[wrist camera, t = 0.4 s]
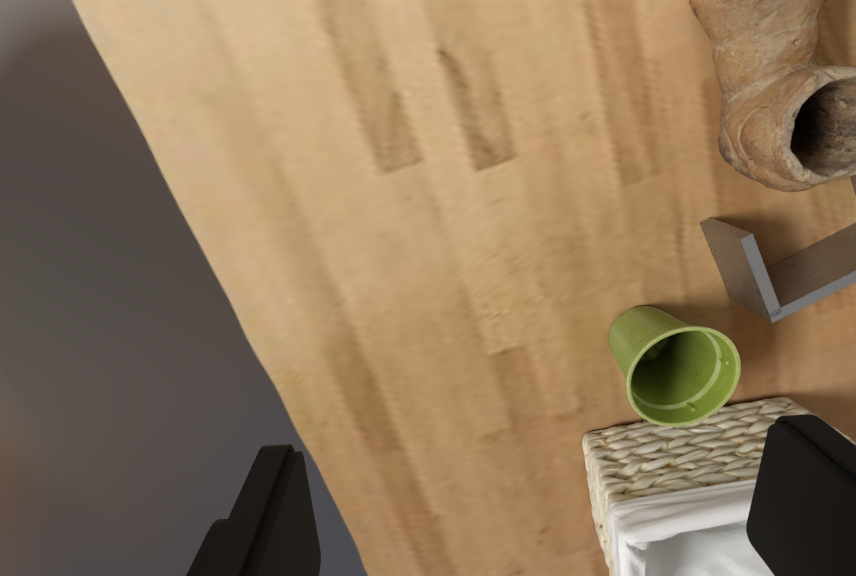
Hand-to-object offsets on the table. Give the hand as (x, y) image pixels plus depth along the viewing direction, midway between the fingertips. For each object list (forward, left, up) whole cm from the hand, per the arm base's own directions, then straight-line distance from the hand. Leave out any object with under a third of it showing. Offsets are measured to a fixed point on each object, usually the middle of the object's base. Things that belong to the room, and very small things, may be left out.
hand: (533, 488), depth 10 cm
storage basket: (+39, +8, -36) cm, 53 cm away
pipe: (+5, +26, -36) cm, 44 cm away
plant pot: (+22, +10, -36) cm, 43 cm away
